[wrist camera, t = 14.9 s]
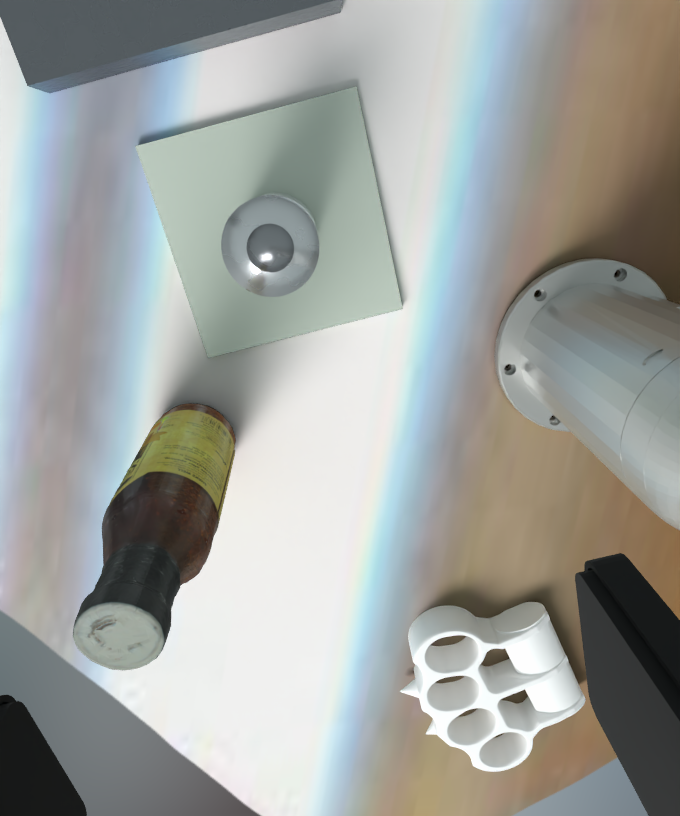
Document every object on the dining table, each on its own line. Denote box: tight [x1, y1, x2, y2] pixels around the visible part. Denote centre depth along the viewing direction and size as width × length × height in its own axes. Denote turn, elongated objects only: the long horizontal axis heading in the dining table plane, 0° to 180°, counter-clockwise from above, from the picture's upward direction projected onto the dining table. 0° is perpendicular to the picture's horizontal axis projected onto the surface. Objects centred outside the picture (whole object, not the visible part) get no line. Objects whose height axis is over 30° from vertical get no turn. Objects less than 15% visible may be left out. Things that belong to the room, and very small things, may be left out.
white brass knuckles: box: [400, 602, 586, 771], centre depth 53 cm, size 3×18×15 cm
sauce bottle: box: [73, 403, 235, 670], centre depth 35 cm, size 6×6×20 cm
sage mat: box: [135, 86, 403, 358], centre depth 39 cm, size 14×14×1 cm
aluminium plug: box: [221, 192, 319, 297], centre depth 34 cm, size 5×5×9 cm
